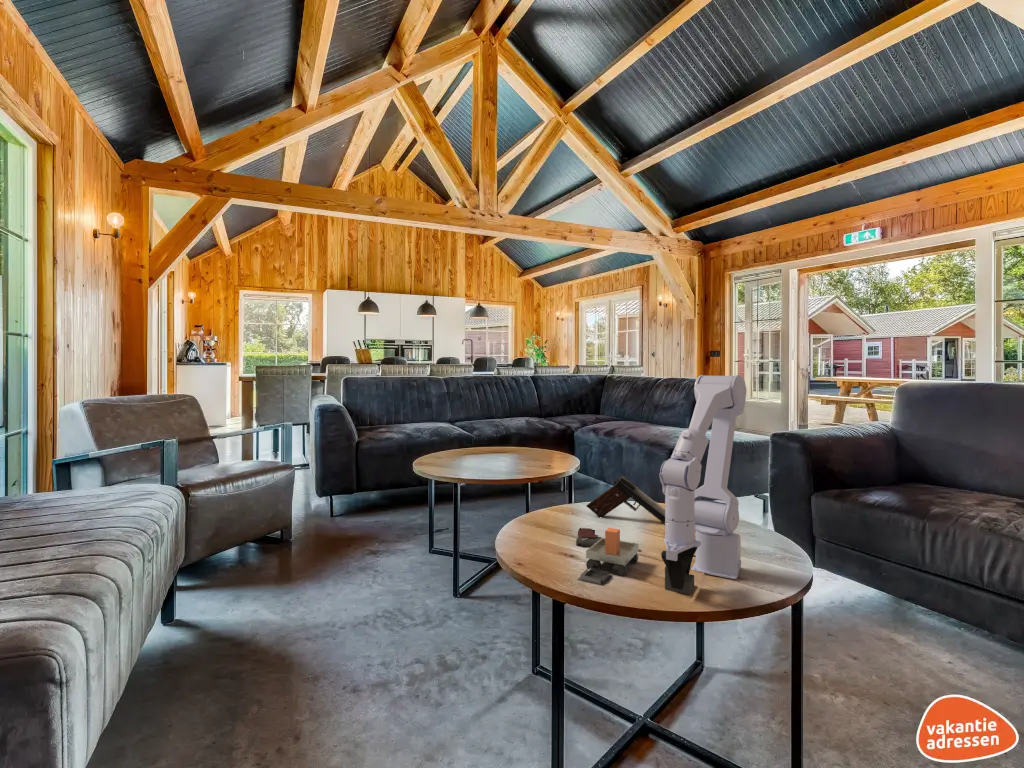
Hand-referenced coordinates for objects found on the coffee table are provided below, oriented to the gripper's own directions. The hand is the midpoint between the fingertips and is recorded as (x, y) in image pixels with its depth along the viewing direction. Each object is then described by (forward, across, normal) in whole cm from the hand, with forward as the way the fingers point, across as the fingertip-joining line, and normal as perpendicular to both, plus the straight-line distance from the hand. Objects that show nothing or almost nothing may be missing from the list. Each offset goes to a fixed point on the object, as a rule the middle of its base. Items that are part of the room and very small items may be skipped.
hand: (679, 583), depth 105 cm
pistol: (+2, +20, +23) cm, 31 cm away
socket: (+1, -4, +17) cm, 17 cm away
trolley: (+1, +5, +16) cm, 17 cm away
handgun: (+2, +43, +24) cm, 49 cm away
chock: (+1, 0, 0) cm, 1 cm away
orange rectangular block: (-2, +5, +16) cm, 17 cm away
